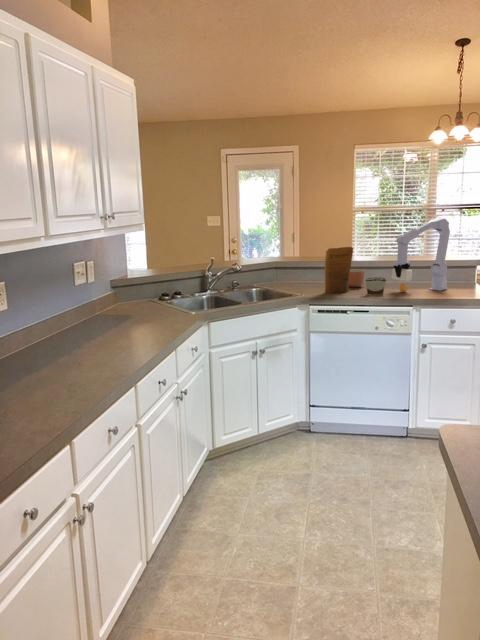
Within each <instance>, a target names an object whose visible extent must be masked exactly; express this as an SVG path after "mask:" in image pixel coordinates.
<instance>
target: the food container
mask: <svg viewBox="0 0 480 640" xmlns="http://www.w3.org/2000/svg"><path fill="white" fill-rule="evenodd" d="M365 282H366V295H367V296H384V292H385V285H386V284H385V283H387V279H386V277H381V276H380V277H379V276H377V277H376V276H370V277H366V278H365V279H364V283H365Z"/></svg>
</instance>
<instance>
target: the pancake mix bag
mask: <svg viewBox="0 0 480 640" xmlns="http://www.w3.org/2000/svg"><path fill="white" fill-rule="evenodd" d="M353 253H354V247H352V246H345V247H342V246H341V247H334V248H331V247H330V248H328V249H327V250H326V251H325V259H324V294H325V293H326V294H336V293H337V294H339V293H348V292H349V291H350V289H349V288H350V287H349V286H348V282H349V272H350V269H351V266H352V261H353V260H352V259H353Z"/></svg>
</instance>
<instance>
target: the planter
mask: <svg viewBox="0 0 480 640" xmlns="http://www.w3.org/2000/svg"><path fill="white" fill-rule="evenodd" d="M365 273H366V271H365V270H364V269H361V268H360V269H358V268H357V269H356V268H354V269H353V268H352V269H351V268H350V272H349V282H348V288H354V289H355V288H357V289H358V288H360V287H362V286H363V285H364V283H365V276H366V275H365Z"/></svg>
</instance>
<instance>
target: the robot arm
mask: <svg viewBox="0 0 480 640" xmlns="http://www.w3.org/2000/svg"><path fill="white" fill-rule="evenodd" d="M449 224H450V223H449V221H448V220H447V219H446V218H432V219H431V220H429V221H427V222H425V223H424V224H422V225H420V226H419V227H417V228H416V227H413V228H409V229H410V230H408V231H406V232H404V233H403V234H398V236H397V238H396V239H395V241H396V243H397V258H396V262H393V269H395V272H396V276H397V277H400V276H401V270H402V269H409V268H410V267H411V264H410V263H411V261H410V260H408V248H409V247H408V245H409V244H410V242H411V241H414V240H415V239H416V238H418V237H419V236H420V234H422V233H425V232H426V231H428V230H430V229H433V230H435V231H436V232H438V234H439V236H438V237H439V238H438V242H437V243H438V244H437V249H436V256H435V260H434V261H433V262H432V264H431V266H430V270H429V271H430V272H431V287H429V288H428V290H432V291H439V292H440V291H443V290H448V288H447V281H448V280H447V276H446V274H447V273H448V263H447V262H446V257H447V250H448V247H449V246H448V245H449V239H450V233H451V230H450V226H449ZM409 270H410V269H409Z"/></svg>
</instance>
